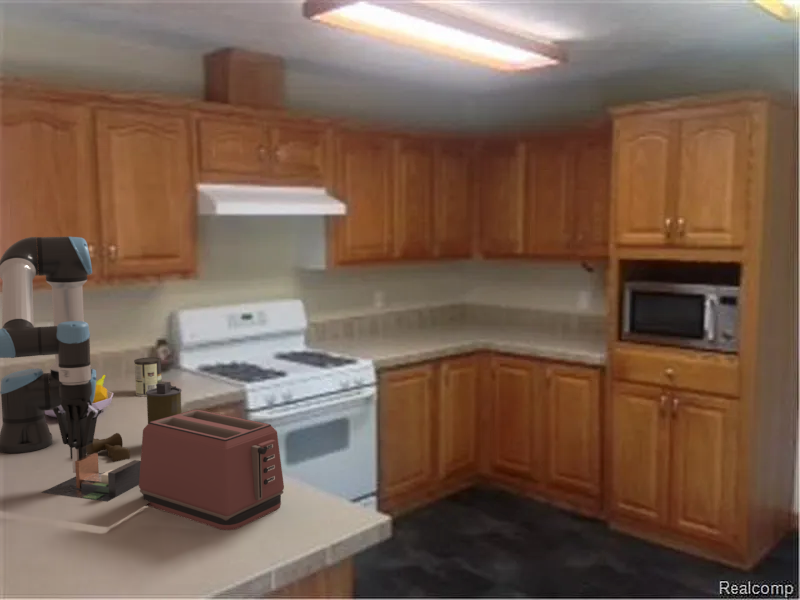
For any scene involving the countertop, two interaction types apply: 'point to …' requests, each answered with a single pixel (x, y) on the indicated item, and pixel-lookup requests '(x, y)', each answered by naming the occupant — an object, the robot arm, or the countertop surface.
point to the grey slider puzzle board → (102, 484)
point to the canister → (163, 401)
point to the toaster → (211, 468)
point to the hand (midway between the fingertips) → (79, 471)
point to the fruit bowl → (95, 397)
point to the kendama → (110, 447)
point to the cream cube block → (105, 477)
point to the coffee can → (147, 374)
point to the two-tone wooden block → (87, 470)
